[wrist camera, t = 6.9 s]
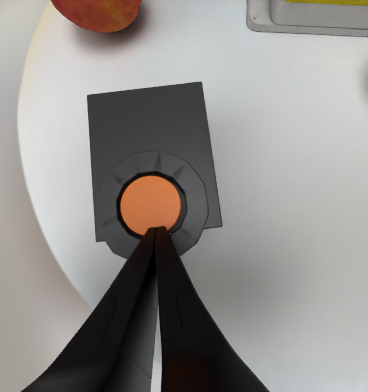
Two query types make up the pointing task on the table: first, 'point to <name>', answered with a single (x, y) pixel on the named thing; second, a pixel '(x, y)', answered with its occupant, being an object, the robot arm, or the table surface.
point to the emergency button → (309, 16)
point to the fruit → (99, 13)
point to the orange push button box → (152, 159)
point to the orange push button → (150, 204)
